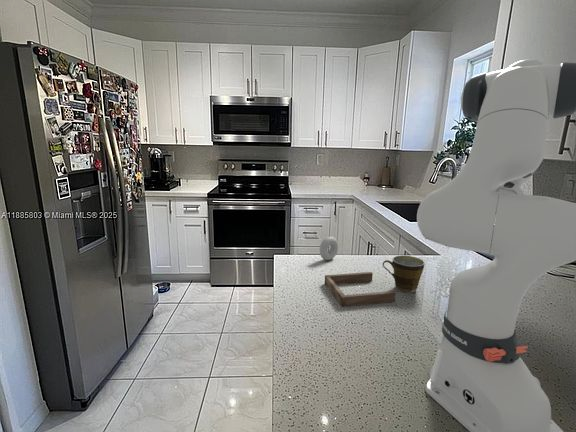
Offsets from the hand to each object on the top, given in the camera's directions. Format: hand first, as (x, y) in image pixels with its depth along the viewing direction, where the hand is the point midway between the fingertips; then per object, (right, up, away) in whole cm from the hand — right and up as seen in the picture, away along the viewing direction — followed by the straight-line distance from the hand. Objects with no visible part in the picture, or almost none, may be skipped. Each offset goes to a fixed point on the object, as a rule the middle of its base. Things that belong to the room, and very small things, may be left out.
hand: (470, 218), depth 106 cm
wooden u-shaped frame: (-38, -24, -3) cm, 45 cm away
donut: (-44, -18, +26) cm, 54 cm away
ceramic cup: (-23, -24, 0) cm, 33 cm away
